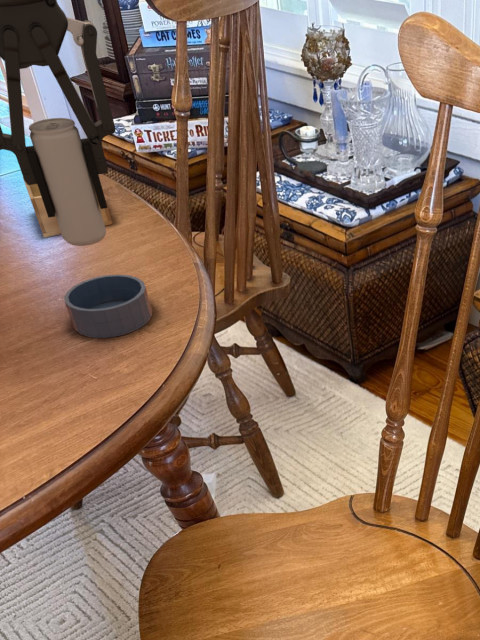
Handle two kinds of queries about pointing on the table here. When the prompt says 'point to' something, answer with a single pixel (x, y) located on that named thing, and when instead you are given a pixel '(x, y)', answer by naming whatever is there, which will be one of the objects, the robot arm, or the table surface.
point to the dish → (108, 306)
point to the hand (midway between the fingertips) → (76, 208)
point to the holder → (51, 224)
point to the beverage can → (68, 180)
